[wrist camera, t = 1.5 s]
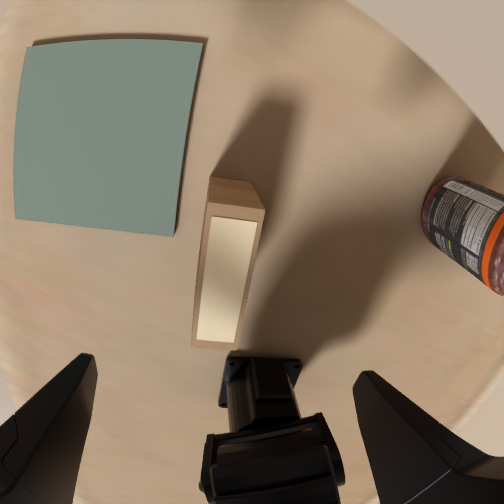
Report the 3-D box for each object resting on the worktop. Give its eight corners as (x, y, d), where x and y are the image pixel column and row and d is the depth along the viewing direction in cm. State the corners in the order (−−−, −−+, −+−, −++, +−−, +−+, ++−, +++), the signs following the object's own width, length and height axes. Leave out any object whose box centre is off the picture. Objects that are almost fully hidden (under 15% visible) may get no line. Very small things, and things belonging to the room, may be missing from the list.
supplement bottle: (478, 201, 21) (577, 256, 11) (444, 256, 23) (532, 331, 13) (444, 158, 20) (563, 205, 9) (405, 221, 21) (511, 301, 11)
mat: (174, 234, 20) (173, 237, 19) (18, 216, 18) (15, 218, 17) (203, 45, 15) (203, 43, 15) (30, 48, 13) (26, 47, 12)
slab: (230, 293, 22) (236, 351, 17) (194, 289, 22) (191, 347, 16) (250, 181, 19) (265, 210, 14) (209, 176, 19) (207, 202, 13)
